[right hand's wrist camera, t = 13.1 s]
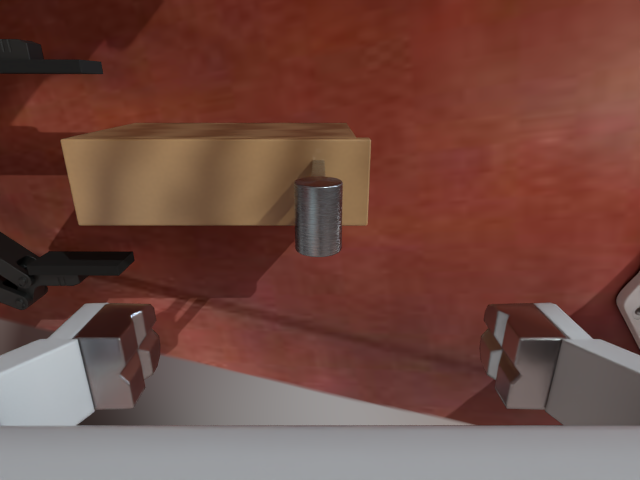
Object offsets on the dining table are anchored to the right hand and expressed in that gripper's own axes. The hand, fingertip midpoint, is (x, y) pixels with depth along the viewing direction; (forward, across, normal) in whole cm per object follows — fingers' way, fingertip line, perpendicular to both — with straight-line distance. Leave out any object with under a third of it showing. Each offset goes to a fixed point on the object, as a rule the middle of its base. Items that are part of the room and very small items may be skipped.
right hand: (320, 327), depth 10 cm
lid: (+16, +6, 0) cm, 17 cm away
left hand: (+20, +14, 0) cm, 25 cm away
